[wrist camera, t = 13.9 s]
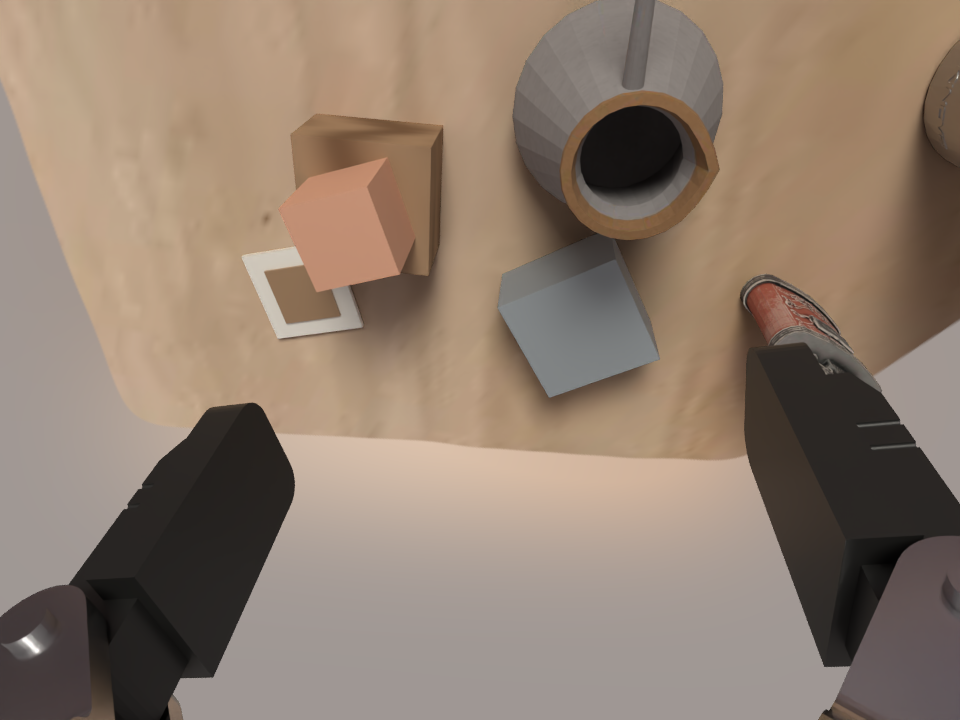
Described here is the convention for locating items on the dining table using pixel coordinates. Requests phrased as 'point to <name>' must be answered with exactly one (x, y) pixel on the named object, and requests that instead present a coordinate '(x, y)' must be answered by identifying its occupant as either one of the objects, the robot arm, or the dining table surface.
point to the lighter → (800, 324)
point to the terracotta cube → (350, 225)
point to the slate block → (577, 315)
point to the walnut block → (365, 140)
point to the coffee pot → (622, 116)
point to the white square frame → (299, 296)
